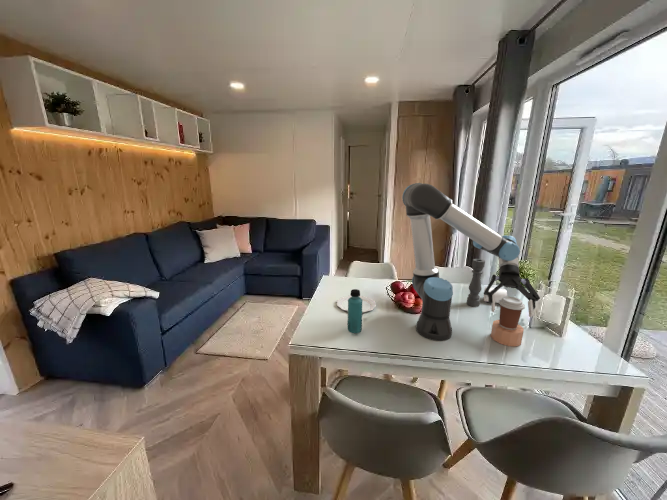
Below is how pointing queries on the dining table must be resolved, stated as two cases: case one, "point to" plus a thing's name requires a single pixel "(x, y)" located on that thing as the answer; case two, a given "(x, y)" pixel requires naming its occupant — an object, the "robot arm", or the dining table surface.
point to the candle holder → (475, 283)
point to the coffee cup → (510, 312)
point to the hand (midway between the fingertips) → (512, 313)
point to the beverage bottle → (355, 312)
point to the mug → (496, 295)
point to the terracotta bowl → (506, 334)
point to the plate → (370, 301)
